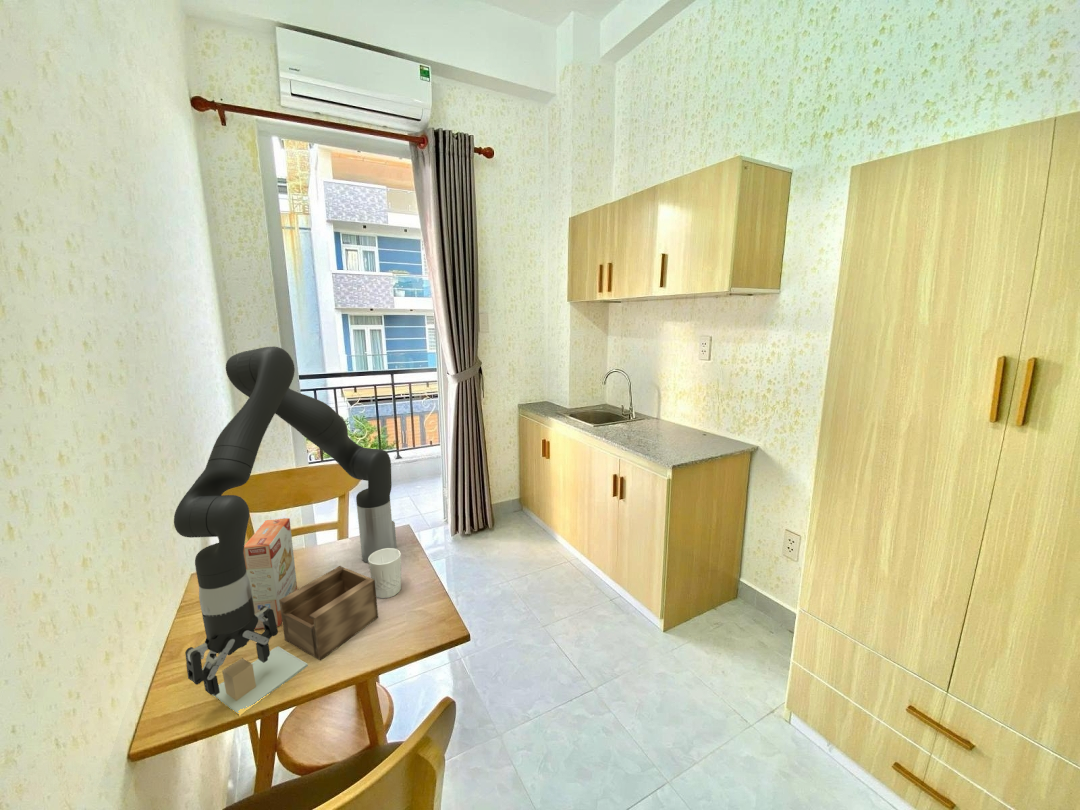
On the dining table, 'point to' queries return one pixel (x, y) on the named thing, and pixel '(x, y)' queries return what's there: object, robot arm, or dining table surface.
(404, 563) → the dining table surface
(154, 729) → the dining table surface
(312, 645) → the walnut box
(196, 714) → the dining table surface
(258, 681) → the lid
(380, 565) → the white cup
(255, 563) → the cracker box
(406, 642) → the dining table surface
